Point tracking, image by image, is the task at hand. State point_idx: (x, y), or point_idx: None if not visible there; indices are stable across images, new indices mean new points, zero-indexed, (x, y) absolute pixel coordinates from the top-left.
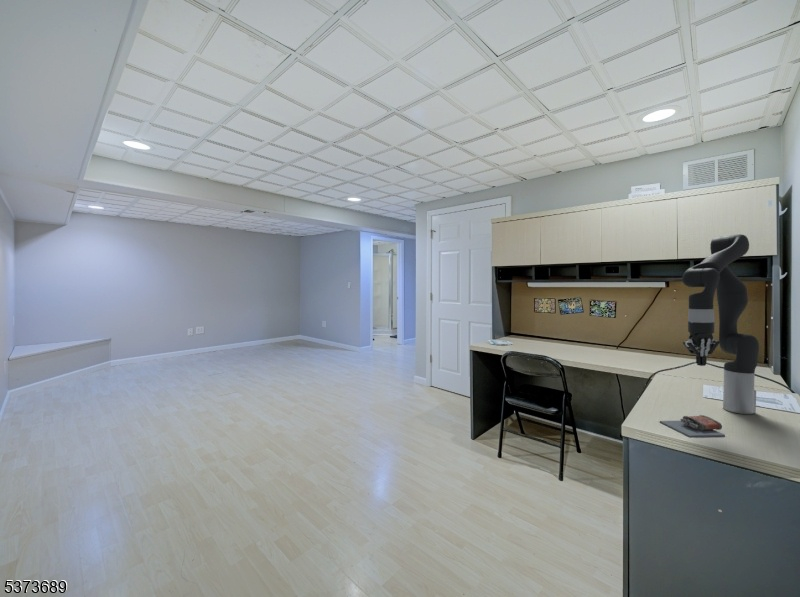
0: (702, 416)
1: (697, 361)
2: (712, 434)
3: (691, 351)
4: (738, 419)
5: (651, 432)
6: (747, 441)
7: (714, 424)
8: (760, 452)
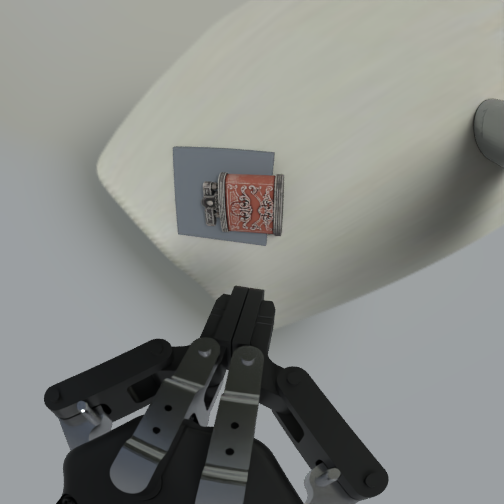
0: (273, 192)
1: (218, 311)
2: (237, 238)
3: (143, 360)
4: (433, 171)
5: (119, 200)
6: (290, 269)
7: (260, 232)
8: None
